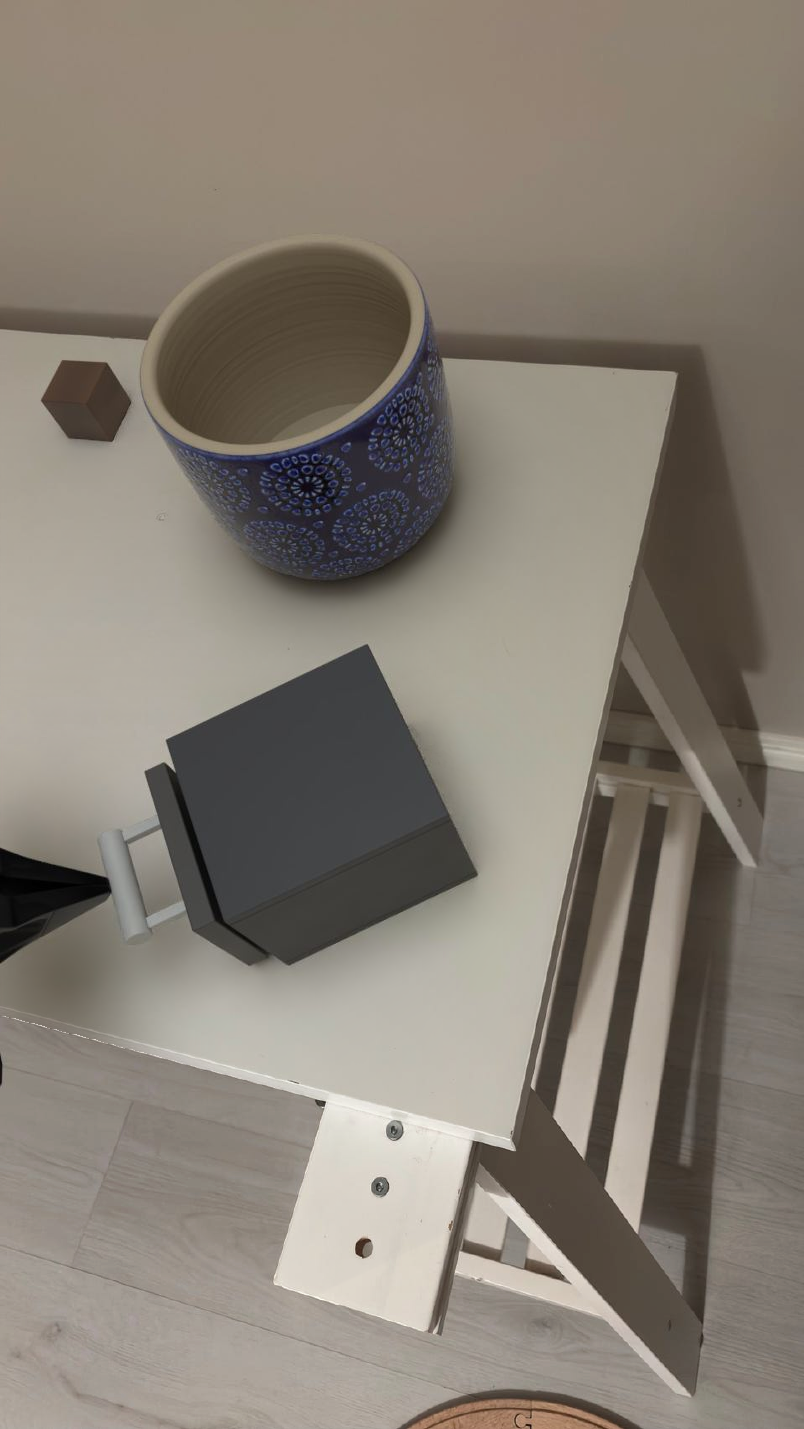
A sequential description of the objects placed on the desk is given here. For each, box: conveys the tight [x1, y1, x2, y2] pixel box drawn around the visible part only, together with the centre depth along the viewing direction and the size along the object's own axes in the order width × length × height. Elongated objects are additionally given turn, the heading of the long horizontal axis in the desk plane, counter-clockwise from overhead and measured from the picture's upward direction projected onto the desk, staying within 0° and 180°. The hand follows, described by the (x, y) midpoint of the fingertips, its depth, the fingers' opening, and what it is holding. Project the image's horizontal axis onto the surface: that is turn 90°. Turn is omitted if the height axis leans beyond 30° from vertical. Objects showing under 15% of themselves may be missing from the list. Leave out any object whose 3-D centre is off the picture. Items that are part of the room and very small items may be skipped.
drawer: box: [96, 761, 269, 967], centre depth 52 cm, size 14×9×8 cm, turn 113°
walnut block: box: [40, 359, 132, 442], centre depth 74 cm, size 4×4×4 cm
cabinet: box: [165, 643, 479, 966], centre depth 52 cm, size 11×10×9 cm
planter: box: [139, 232, 457, 581], centre depth 60 cm, size 17×17×15 cm
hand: (108, 889), depth 50 cm, fingers closed, pressing on drawer
